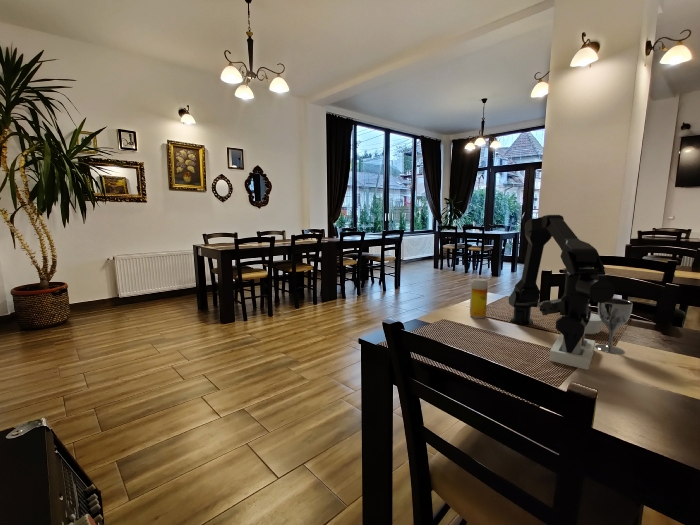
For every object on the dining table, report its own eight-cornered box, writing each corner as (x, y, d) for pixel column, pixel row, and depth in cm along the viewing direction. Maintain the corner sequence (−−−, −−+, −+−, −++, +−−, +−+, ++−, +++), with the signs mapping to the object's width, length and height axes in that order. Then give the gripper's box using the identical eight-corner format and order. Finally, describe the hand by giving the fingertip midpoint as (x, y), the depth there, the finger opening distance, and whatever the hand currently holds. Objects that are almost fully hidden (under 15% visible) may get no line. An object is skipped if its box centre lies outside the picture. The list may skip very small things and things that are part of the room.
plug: (563, 352, 97) (565, 332, 96) (580, 356, 94) (582, 335, 93) (561, 357, 93) (563, 336, 93) (578, 361, 91) (580, 340, 90)
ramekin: (579, 323, 124) (581, 309, 123) (611, 333, 114) (613, 318, 113) (557, 326, 121) (558, 312, 120) (587, 337, 110) (588, 322, 109)
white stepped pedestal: (559, 343, 106) (560, 324, 105) (594, 350, 100) (596, 330, 99) (549, 360, 94) (551, 339, 93) (588, 370, 88) (590, 348, 87)
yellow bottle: (487, 319, 129) (489, 281, 127) (470, 318, 131) (472, 280, 128) (484, 314, 135) (486, 278, 133) (468, 313, 136) (470, 277, 134)
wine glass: (619, 345, 103) (625, 298, 101) (631, 356, 96) (638, 305, 93) (589, 342, 106) (594, 296, 103) (598, 352, 98) (604, 303, 96)
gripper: (549, 283, 103) (545, 331, 105) (536, 295, 89) (531, 350, 91) (593, 288, 96) (588, 339, 98) (586, 302, 82) (580, 362, 84)
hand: (571, 347), depth 93 cm, fingers open, 9 cm apart
